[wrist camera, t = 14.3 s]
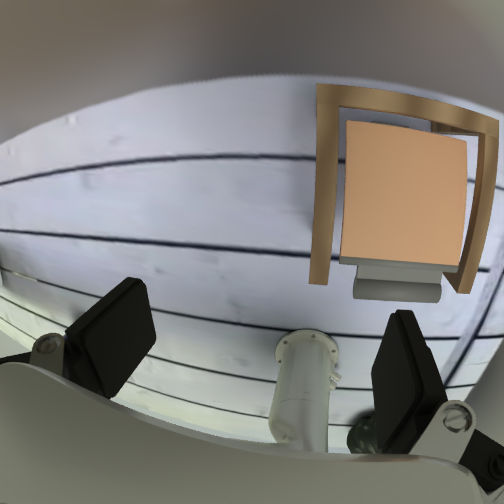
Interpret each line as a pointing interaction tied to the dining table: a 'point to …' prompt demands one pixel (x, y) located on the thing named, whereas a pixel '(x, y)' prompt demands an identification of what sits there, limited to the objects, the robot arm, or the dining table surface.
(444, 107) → the frame
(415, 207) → the trapdoor
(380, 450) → the squash
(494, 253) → the dining table surface
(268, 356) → the dining table surface
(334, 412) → the dining table surface
